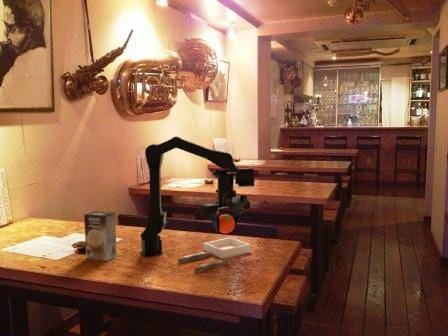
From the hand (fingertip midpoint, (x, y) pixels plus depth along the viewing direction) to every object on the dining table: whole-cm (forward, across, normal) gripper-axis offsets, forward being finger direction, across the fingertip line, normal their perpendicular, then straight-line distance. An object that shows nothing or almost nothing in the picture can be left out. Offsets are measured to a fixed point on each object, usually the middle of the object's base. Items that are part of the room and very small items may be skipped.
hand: (226, 229), depth 146 cm
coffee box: (+9, -39, +22) cm, 45 cm away
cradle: (+8, -14, -6) cm, 17 cm away
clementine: (+2, 0, 0) cm, 2 cm away
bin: (+8, 0, 0) cm, 8 cm away
